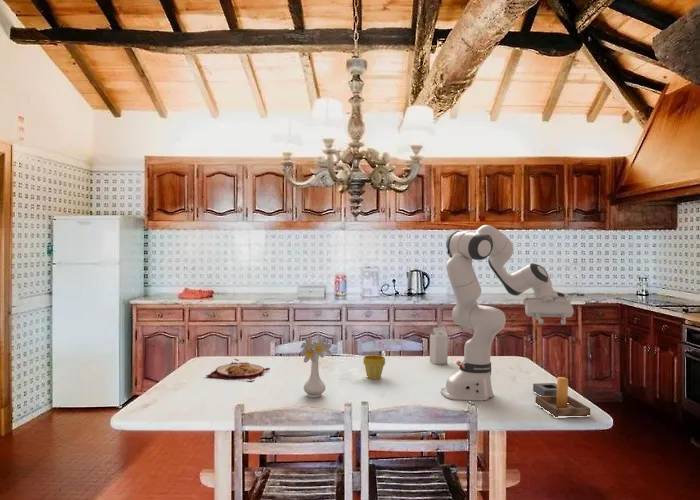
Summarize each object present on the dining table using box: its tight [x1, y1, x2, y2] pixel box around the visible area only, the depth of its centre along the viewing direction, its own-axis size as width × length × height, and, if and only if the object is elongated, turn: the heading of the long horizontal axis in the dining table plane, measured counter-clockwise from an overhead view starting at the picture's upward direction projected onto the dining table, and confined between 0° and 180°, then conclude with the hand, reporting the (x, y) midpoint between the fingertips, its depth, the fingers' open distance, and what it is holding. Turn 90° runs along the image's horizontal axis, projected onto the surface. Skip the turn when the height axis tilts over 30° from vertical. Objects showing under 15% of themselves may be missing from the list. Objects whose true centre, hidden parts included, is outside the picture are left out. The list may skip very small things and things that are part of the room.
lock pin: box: [556, 376, 569, 408], centre depth 205 cm, size 4×4×12 cm
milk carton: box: [429, 327, 449, 365], centre depth 281 cm, size 7×7×19 cm
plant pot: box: [363, 354, 386, 380], centre depth 251 cm, size 10×10×10 cm
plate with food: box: [205, 358, 271, 382], centre depth 256 cm, size 25×26×4 cm
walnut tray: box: [534, 395, 591, 417], centre depth 206 cm, size 14×16×4 cm
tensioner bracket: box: [532, 382, 557, 396], centre depth 225 cm, size 10×10×4 cm
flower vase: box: [299, 334, 332, 399], centre depth 220 cm, size 13×18×25 cm
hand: (552, 323), depth 225 cm, fingers open, 8 cm apart
